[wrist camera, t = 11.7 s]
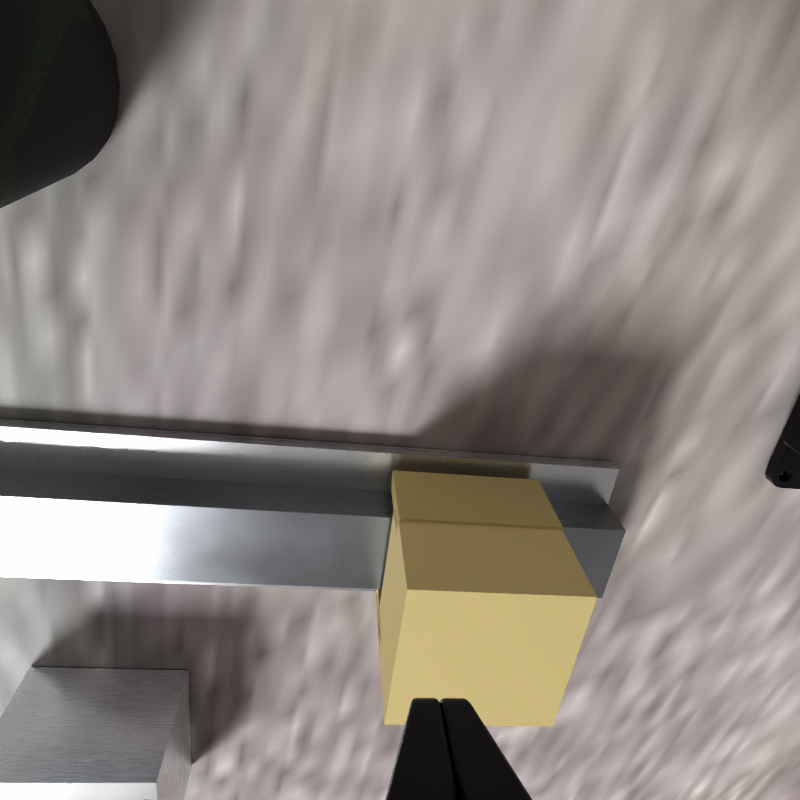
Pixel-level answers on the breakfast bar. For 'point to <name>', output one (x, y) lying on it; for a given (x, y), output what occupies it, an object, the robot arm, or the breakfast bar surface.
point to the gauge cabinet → (96, 735)
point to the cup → (52, 92)
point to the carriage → (479, 599)
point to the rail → (245, 506)
